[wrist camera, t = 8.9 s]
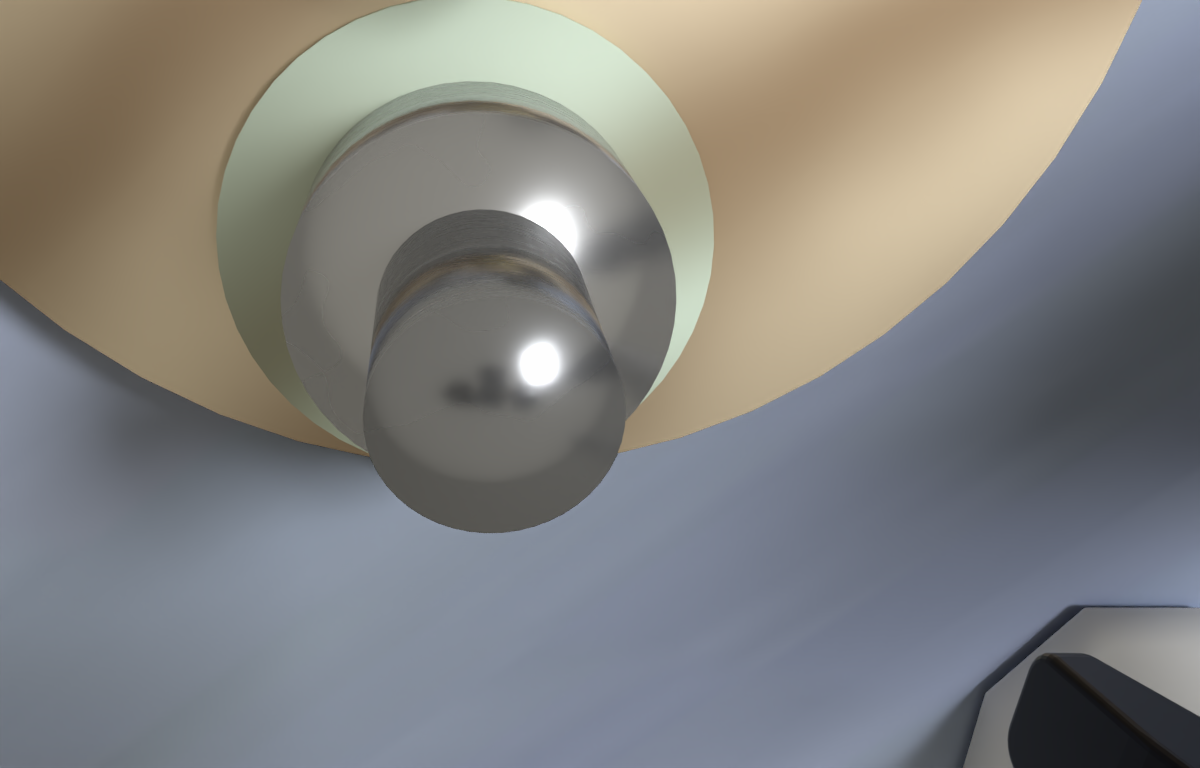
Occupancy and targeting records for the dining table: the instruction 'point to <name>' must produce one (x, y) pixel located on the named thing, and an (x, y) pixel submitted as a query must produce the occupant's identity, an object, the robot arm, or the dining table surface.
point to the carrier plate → (583, 85)
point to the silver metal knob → (479, 301)
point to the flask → (1116, 637)
